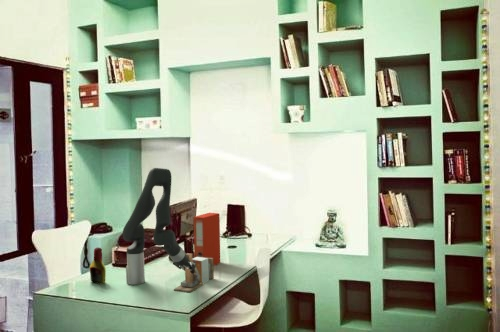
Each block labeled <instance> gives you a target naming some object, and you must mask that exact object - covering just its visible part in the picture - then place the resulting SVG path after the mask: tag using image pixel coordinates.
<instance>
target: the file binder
mask: <svg viewBox="0 0 500 332" xmlns="http://www.w3.org/2000/svg"><path fill="white" fill-rule="evenodd" d="M220 218H221V216H220V213H218V212H206V213H202V214H199V215H196V216H193V255H194V256H193V258H195V257H207V258H213V267H214V266H216V265H218V264H220V263H221V233H220V232H221V227H220Z"/></svg>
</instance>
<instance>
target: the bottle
mask: <svg viewBox="0 0 500 332" xmlns="http://www.w3.org/2000/svg"><path fill="white" fill-rule="evenodd" d="M106 271H107V269H106V266H105V263H104V262H103V248H102V247H95V248H94V249H93V261H92V262H91V263H90V266H89V273H90V276H89V277H90V281H91V282H93V283H95V284H99V285H101V284H104V283H106V276H107V275H106V273H107V272H106Z"/></svg>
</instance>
